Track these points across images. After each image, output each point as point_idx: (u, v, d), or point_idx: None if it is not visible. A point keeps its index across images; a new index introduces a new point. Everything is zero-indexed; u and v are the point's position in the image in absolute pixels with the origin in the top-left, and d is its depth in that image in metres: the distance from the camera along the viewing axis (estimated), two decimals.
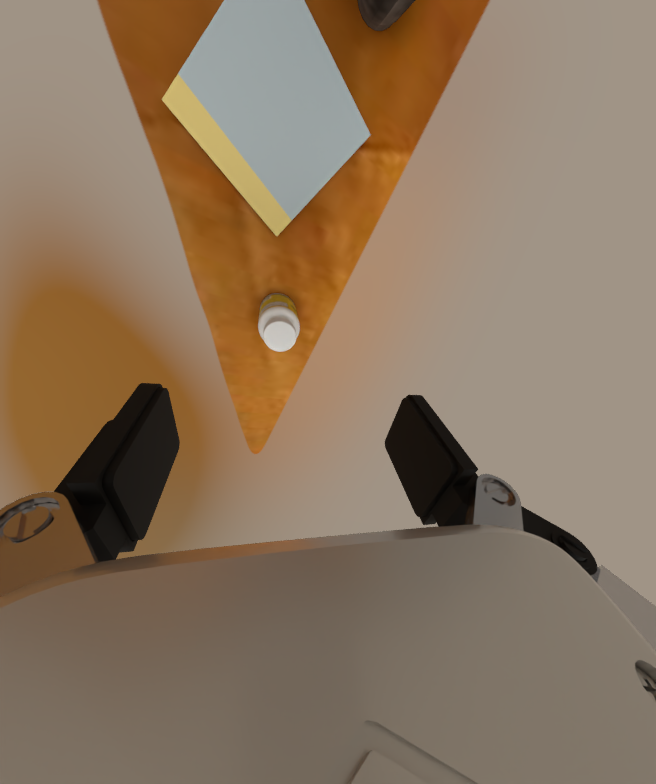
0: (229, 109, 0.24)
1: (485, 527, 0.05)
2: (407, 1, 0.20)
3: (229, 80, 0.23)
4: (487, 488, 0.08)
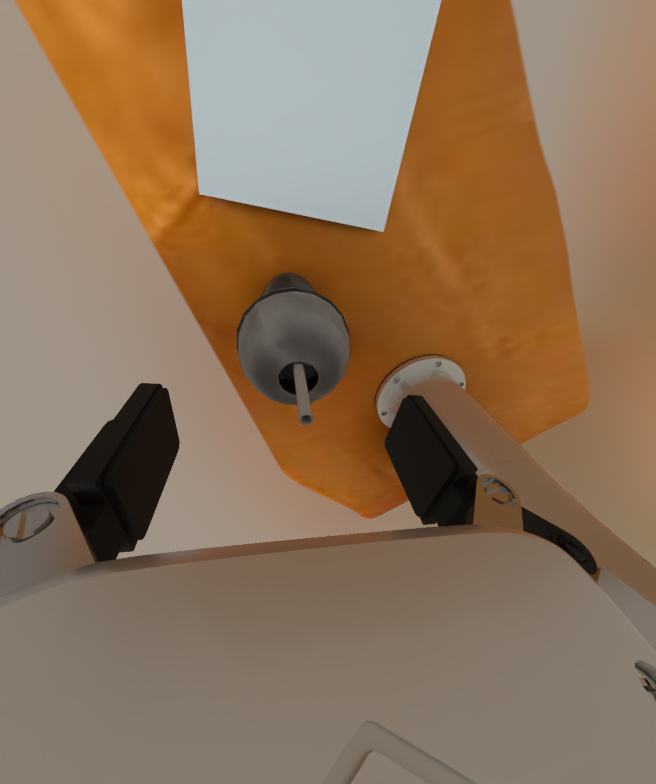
0: (368, 20, 0.15)
1: (485, 527, 0.05)
2: (262, 296, 0.20)
3: (379, 65, 0.16)
4: (487, 488, 0.08)
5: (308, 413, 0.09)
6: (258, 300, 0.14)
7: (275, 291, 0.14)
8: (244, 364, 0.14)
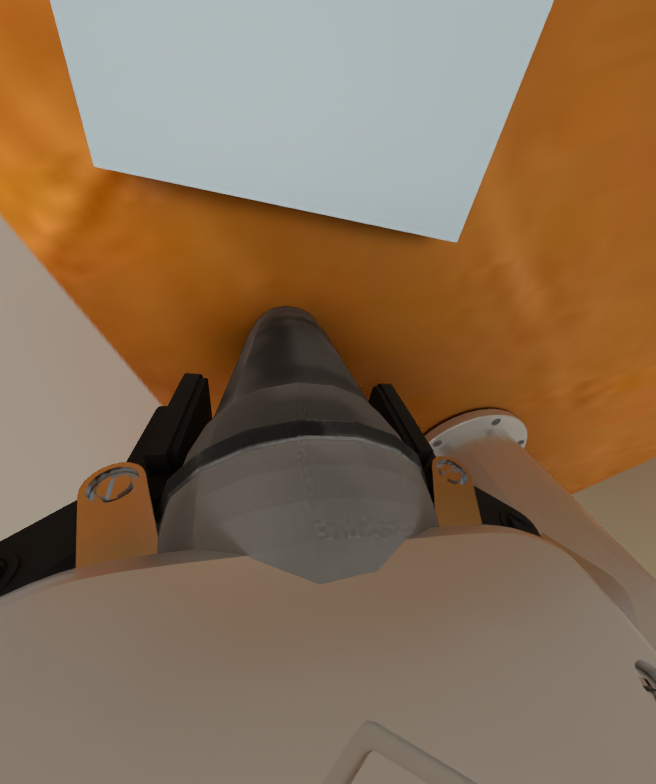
0: None
1: (485, 527, 0.05)
2: (235, 369, 0.10)
3: None
4: (441, 470, 0.08)
5: None
6: (202, 458, 0.05)
7: (250, 434, 0.05)
8: None
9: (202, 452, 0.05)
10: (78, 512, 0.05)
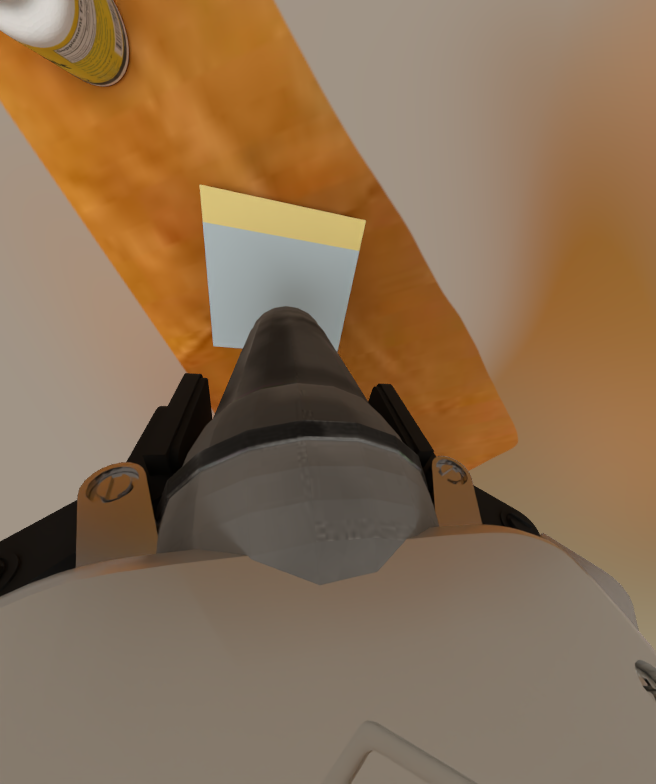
0: (315, 263, 0.25)
1: (485, 527, 0.05)
2: (235, 369, 0.10)
3: (324, 280, 0.26)
4: (441, 470, 0.08)
5: None
6: (202, 458, 0.05)
7: (250, 435, 0.05)
8: None
9: (202, 453, 0.05)
10: (78, 512, 0.05)
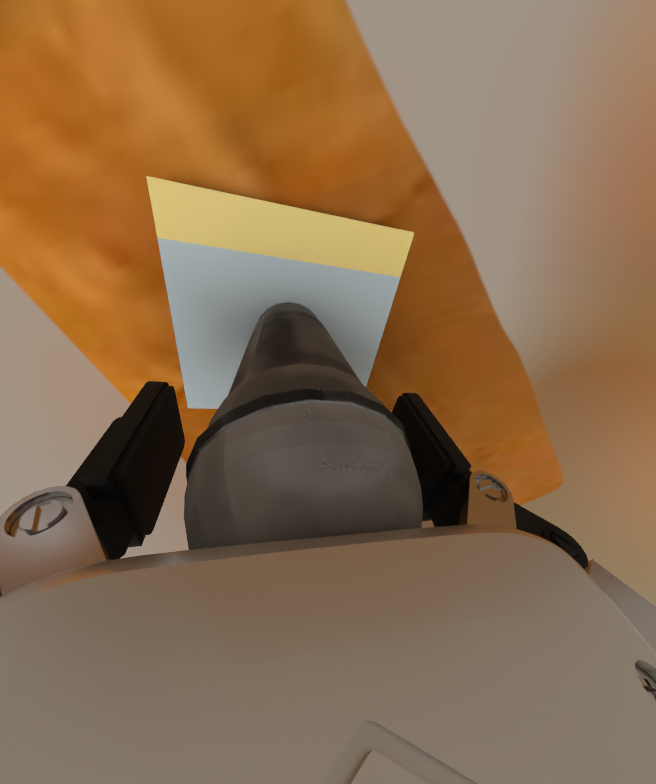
0: (335, 295, 0.17)
1: (485, 527, 0.05)
2: (244, 356, 0.11)
3: (347, 319, 0.18)
4: (480, 485, 0.08)
5: None
6: (227, 418, 0.06)
7: (266, 398, 0.06)
8: None
9: (227, 414, 0.06)
10: None
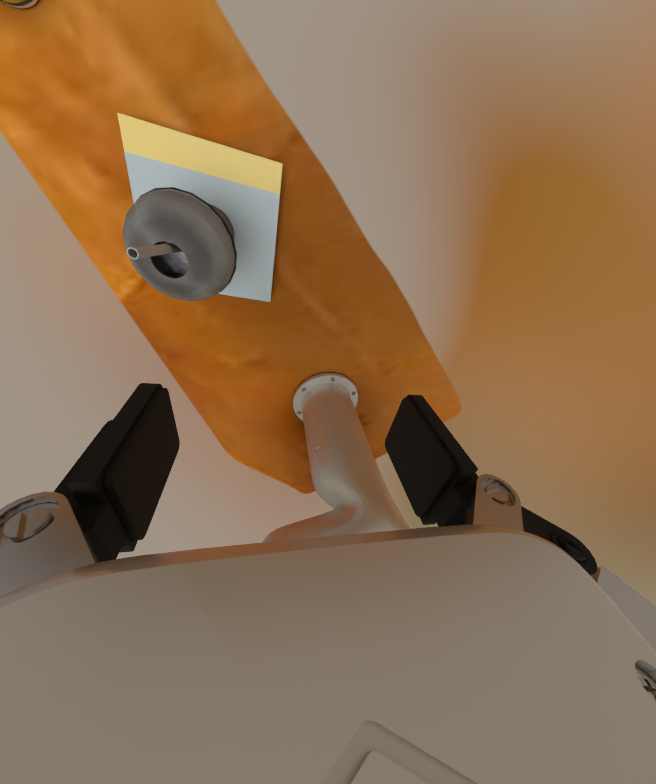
0: (239, 203, 0.27)
1: (485, 527, 0.05)
2: None
3: (249, 222, 0.28)
4: (487, 488, 0.08)
5: (134, 248, 0.12)
6: (141, 195, 0.17)
7: (156, 188, 0.17)
8: (126, 249, 0.17)
9: (141, 195, 0.17)
10: None
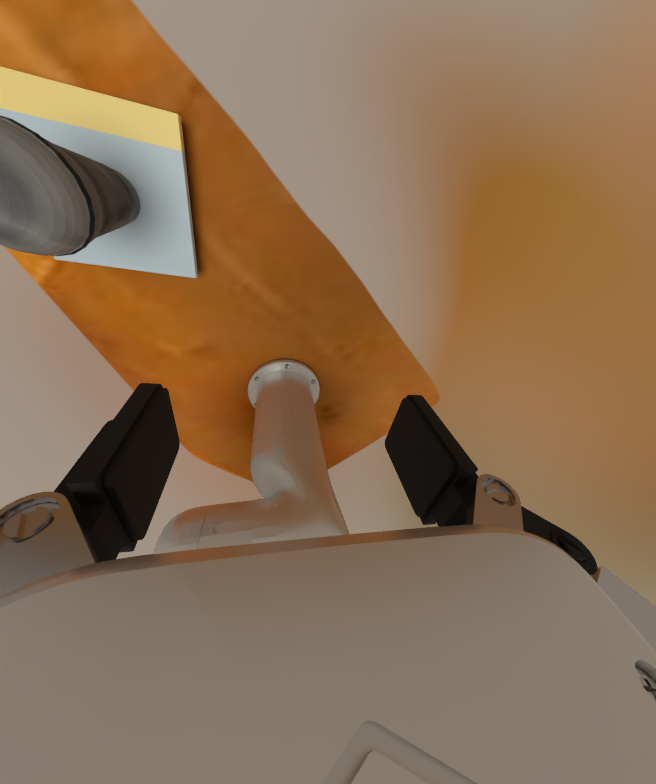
0: (137, 163, 0.24)
1: (485, 527, 0.05)
2: None
3: (154, 185, 0.26)
4: (487, 488, 0.08)
5: None
6: None
7: None
8: None
9: None
10: None
